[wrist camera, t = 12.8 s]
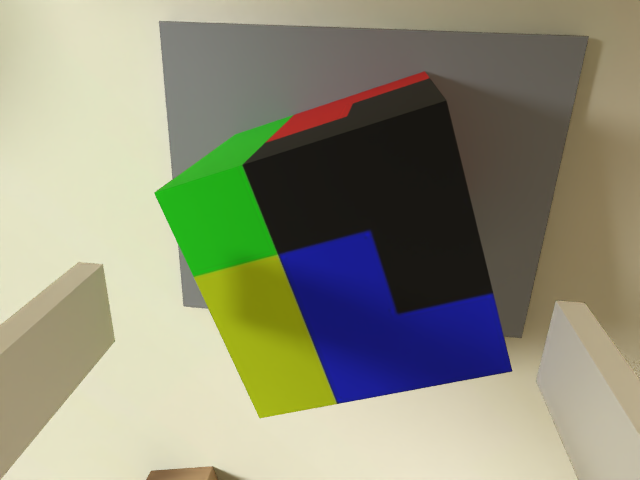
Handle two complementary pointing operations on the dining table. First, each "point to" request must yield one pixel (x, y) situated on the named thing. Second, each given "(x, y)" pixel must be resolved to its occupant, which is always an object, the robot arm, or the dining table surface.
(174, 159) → the charcoal mat
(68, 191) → the dining table surface
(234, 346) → the puzzle toy
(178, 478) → the walnut block
